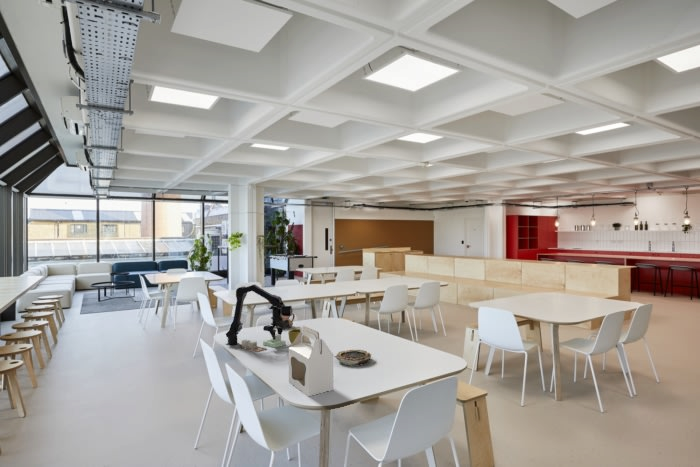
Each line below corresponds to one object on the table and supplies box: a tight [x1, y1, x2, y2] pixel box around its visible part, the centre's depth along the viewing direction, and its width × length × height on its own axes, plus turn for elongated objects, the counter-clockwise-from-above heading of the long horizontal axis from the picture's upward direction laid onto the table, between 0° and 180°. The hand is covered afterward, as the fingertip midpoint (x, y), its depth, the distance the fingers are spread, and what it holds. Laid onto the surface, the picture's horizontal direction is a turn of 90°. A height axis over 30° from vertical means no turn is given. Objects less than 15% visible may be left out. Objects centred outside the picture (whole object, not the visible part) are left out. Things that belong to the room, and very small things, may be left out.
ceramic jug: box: [281, 312, 295, 329], centre depth 317 cm, size 18×14×14 cm
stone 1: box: [241, 338, 251, 348], centre depth 260 cm, size 4×4×4 cm
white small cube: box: [248, 340, 258, 349], centre depth 256 cm, size 4×4×4 cm
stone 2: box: [273, 333, 282, 342], centre depth 262 cm, size 4×4×4 cm
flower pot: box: [288, 328, 301, 345], centre depth 268 cm, size 9×9×9 cm
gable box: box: [288, 325, 334, 397], centre depth 191 cm, size 22×13×28 cm, turn 34°
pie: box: [334, 349, 372, 367], centre depth 230 cm, size 28×27×5 cm
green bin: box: [262, 338, 286, 349], centre depth 264 cm, size 12×10×3 cm
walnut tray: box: [237, 344, 268, 353], centre depth 256 cm, size 20×8×1 cm, turn 53°
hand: (276, 339), depth 263 cm, fingers closed on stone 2, 4 cm apart
